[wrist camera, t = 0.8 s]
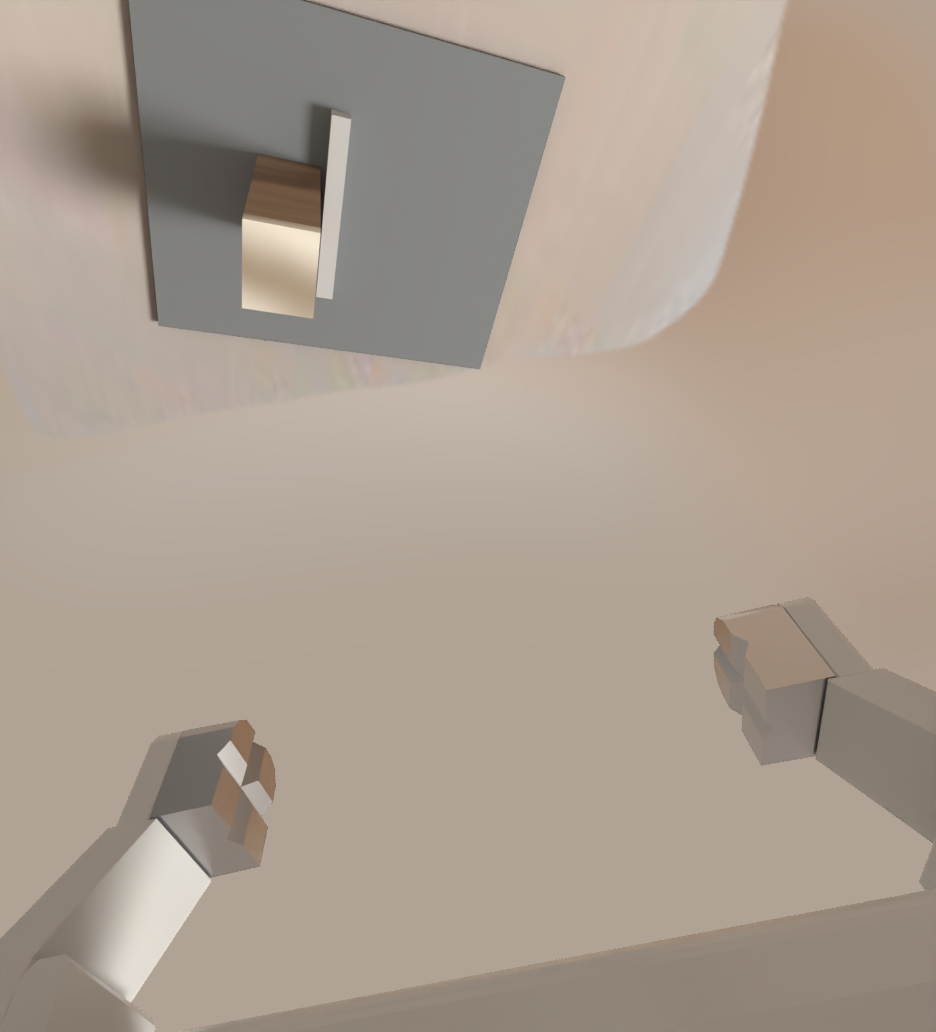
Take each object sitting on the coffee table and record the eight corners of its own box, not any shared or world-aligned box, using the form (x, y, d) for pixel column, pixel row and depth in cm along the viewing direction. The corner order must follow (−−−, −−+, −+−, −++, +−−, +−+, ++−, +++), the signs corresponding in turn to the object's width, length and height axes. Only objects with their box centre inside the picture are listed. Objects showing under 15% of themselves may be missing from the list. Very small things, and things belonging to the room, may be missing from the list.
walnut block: (258, 153, 41) (242, 218, 32) (320, 166, 42) (320, 233, 33) (256, 230, 44) (241, 308, 36) (314, 241, 45) (313, 318, 37)
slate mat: (126, -52, 34) (117, -50, 32) (562, 75, 41) (571, 82, 40) (159, 321, 48) (154, 335, 46) (478, 365, 55) (483, 378, 54)
